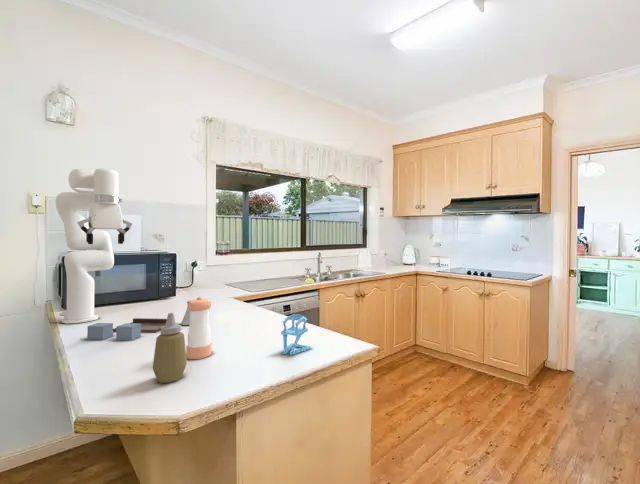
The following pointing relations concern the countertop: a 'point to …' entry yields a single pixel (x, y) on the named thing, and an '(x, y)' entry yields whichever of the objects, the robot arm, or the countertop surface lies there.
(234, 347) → the countertop surface
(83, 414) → the countertop surface
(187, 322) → the flask
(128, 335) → the pad
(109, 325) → the pad
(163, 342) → the squeeze bottle
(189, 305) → the pepper shaker
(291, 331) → the chair
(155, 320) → the backing board
